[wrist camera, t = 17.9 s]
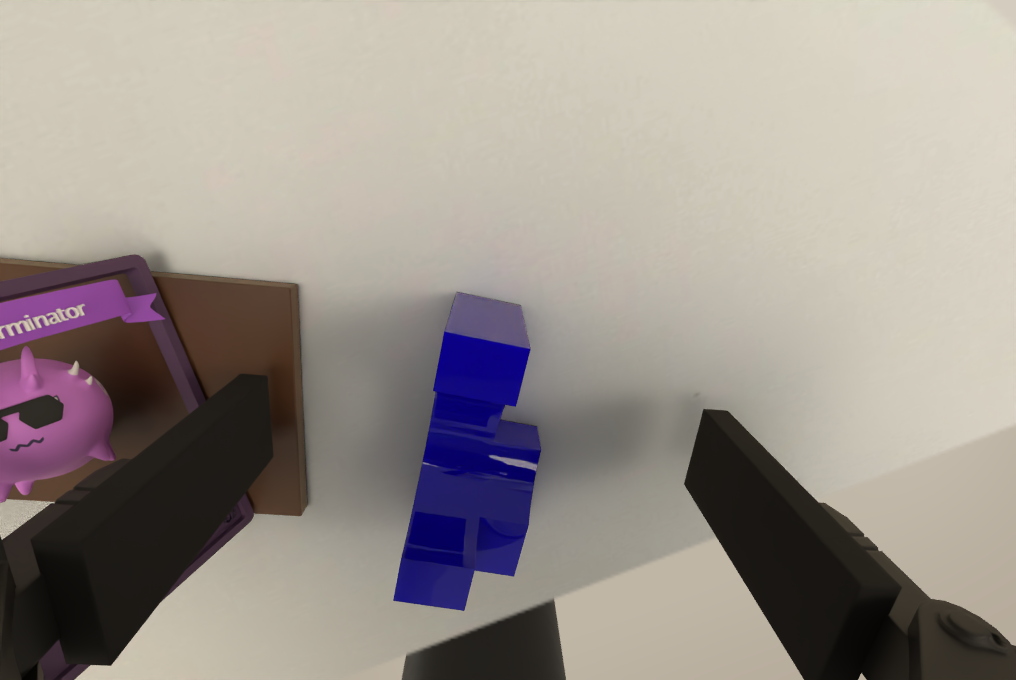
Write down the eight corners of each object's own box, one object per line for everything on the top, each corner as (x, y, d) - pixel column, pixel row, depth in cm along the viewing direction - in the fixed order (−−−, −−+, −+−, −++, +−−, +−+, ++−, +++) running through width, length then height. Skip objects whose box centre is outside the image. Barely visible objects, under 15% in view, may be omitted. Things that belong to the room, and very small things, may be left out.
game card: (32, 744, 10) (-277, 337, 7) (-94, 694, 12) (-382, 356, 9) (272, 518, 16) (160, 249, 13) (164, 508, 18) (45, 270, 15)
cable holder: (511, 521, 17) (516, 618, 13) (415, 506, 17) (393, 600, 13) (567, 315, 15) (592, 361, 11) (456, 291, 14) (444, 331, 11)
